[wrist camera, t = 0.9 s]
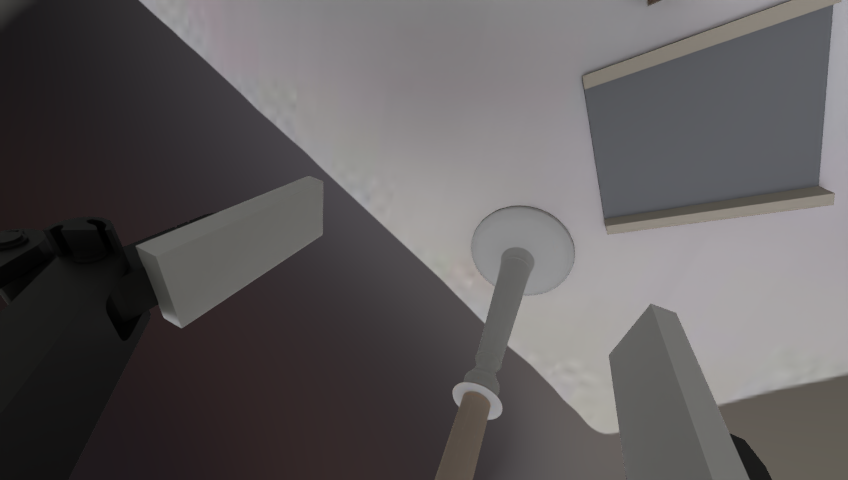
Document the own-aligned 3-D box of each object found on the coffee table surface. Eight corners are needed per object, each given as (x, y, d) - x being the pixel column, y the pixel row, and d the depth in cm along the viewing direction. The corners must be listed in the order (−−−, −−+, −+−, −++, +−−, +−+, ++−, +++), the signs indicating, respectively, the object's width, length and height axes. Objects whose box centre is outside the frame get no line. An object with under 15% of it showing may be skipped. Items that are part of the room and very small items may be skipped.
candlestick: (535, 308, 43) (488, 608, 19) (457, 259, 45) (320, 478, 20) (598, 242, 36) (655, 590, 12) (502, 186, 38) (376, 391, 13)
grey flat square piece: (582, 76, 30) (583, 76, 28) (831, -15, 22) (856, -23, 20) (605, 225, 35) (607, 234, 33) (814, 195, 27) (833, 204, 25)
